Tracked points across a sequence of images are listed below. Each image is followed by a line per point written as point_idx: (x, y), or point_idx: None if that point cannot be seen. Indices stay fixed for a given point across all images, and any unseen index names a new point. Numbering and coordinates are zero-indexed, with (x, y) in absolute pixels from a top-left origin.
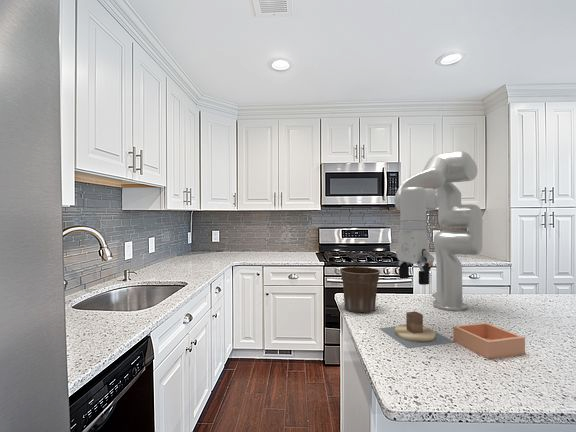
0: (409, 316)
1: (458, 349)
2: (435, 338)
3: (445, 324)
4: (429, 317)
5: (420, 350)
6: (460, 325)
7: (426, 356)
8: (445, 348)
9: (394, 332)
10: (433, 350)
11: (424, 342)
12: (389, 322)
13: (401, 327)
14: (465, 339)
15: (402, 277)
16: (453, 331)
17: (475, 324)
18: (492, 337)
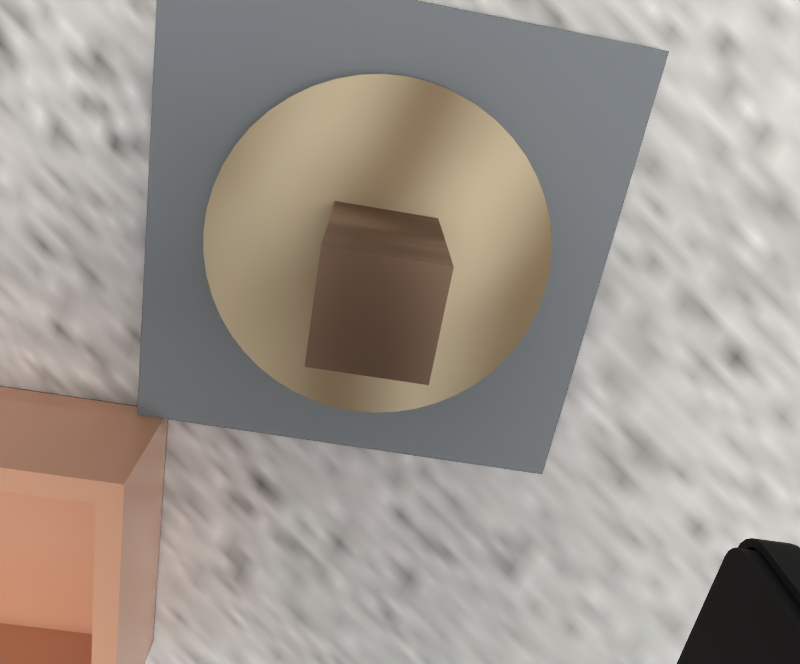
0: (390, 246)
1: (64, 351)
2: None
3: (463, 632)
4: (627, 647)
5: (132, 62)
6: (117, 546)
7: (18, 13)
8: (106, 282)
9: (504, 122)
10: (101, 166)
11: None
12: (741, 296)
13: (501, 214)
14: (12, 430)
15: (728, 589)
16: (135, 458)
17: (100, 654)
18: (71, 647)
